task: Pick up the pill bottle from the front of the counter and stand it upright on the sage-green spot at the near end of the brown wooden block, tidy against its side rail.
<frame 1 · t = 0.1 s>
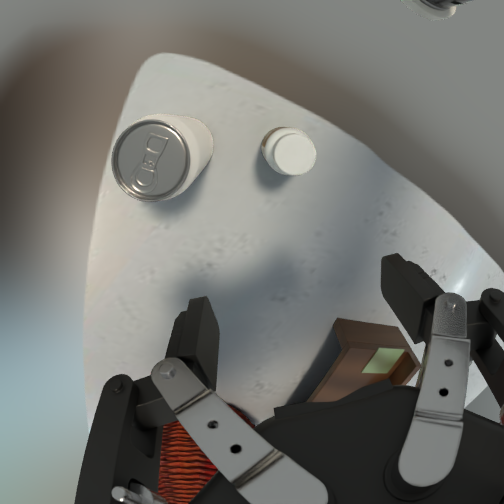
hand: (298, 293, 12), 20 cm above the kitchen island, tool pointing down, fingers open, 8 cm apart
vase: (208, 416, 49), on the kitchen island
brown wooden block: (331, 380, 45), on the kitchen island
pill bottle: (281, 146, 28), on the kitchen island
can: (184, 146, 28), on the kitchen island
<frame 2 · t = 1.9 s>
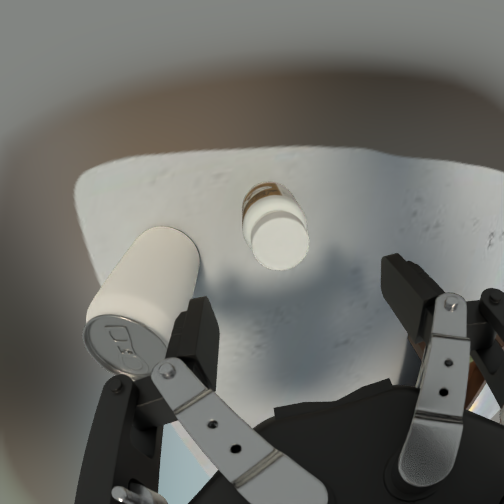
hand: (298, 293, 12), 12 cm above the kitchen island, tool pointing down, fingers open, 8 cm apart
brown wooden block: (425, 376, 37), on the kitchen island
pill bottle: (268, 205, 23), on the kitchen island
can: (166, 256, 25), on the kitchen island
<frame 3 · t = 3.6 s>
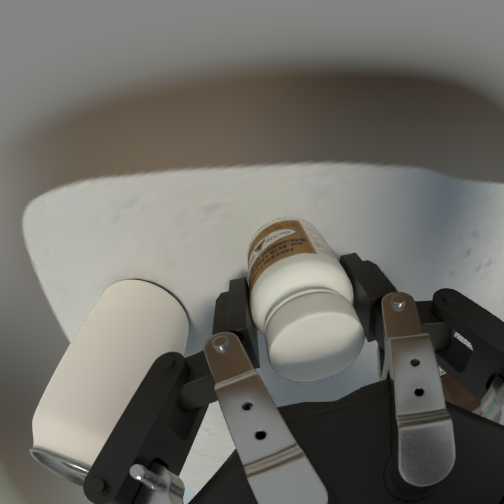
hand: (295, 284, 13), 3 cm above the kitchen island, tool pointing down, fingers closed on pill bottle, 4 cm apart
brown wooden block: (446, 413, 29), on the kitchen island
pill bottle: (285, 250, 16), on the kitchen island, touching gripper
can: (144, 315, 18), on the kitchen island
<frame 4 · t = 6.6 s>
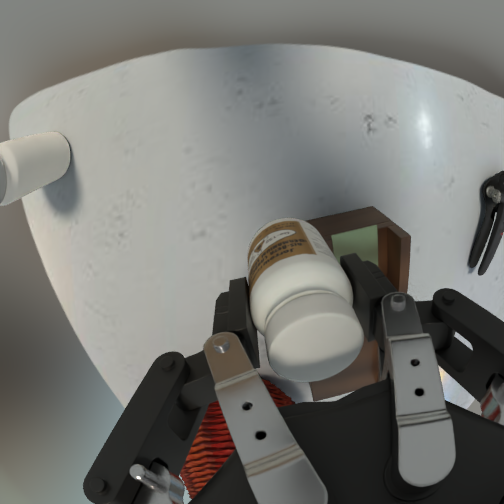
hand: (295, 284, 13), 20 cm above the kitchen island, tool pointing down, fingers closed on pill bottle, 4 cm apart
can opener: (482, 218, 33), on the kitchen island
vase: (239, 395, 48), on the kitchen island
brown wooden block: (337, 306, 39), on the kitchen island
pill bottle: (285, 251, 16), point 16 cm above the kitchen island, touching gripper
can: (54, 155, 27), on the kitchen island
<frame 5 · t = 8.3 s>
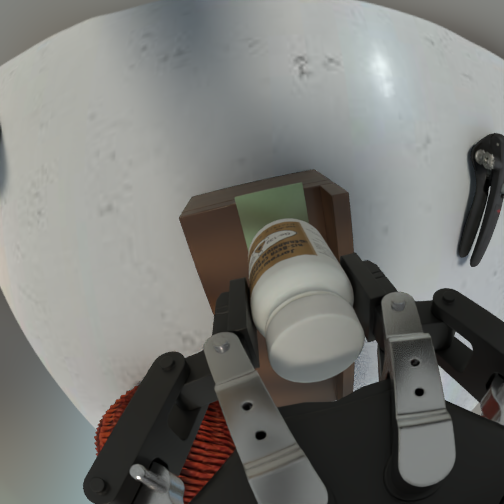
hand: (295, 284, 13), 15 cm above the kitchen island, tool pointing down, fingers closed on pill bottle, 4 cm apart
can opener: (473, 194, 27), on the kitchen island
vase: (181, 400, 41), on the kitchen island
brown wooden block: (279, 301, 32), on the kitchen island
pill bottle: (285, 251, 16), point 12 cm above the kitchen island, touching gripper
when the fingers open (10 cm above the kitchen island, at t = 10.0 s): pill bottle stays where it is, resting on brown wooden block.
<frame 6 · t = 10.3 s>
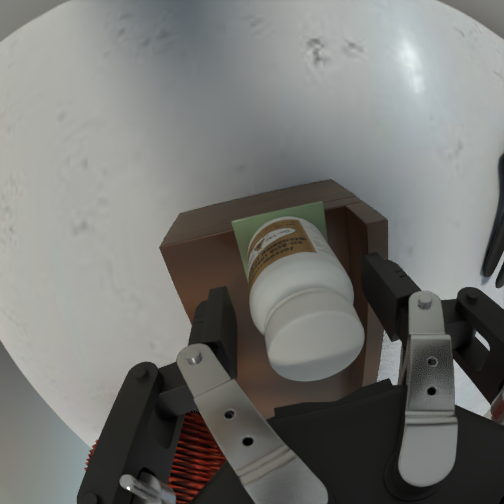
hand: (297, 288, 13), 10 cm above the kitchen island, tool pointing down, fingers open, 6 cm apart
can opener: (501, 207, 22), on the kitchen island
vase: (177, 427, 36), on the kitchen island
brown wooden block: (285, 332, 27), on the kitchen island
pill bottle: (285, 249, 16), point 6 cm above the kitchen island, touching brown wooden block
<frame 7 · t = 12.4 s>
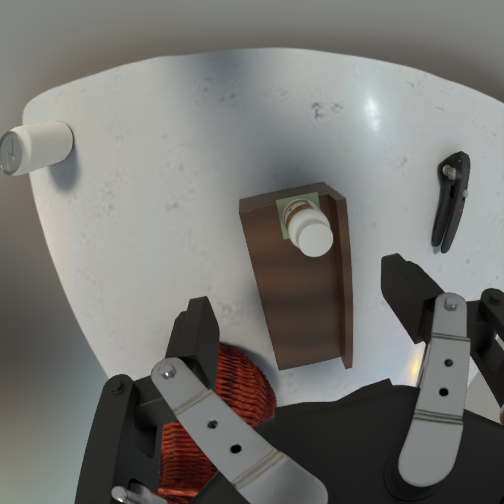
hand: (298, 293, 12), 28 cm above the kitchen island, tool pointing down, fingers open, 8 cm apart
can opener: (443, 198, 39), on the kitchen island
vase: (213, 366, 52), on the kitchen island
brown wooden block: (297, 276, 44), on the kitchen island
pill bottle: (300, 215, 33), point 6 cm above the kitchen island, touching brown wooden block
can: (59, 141, 33), on the kitchen island
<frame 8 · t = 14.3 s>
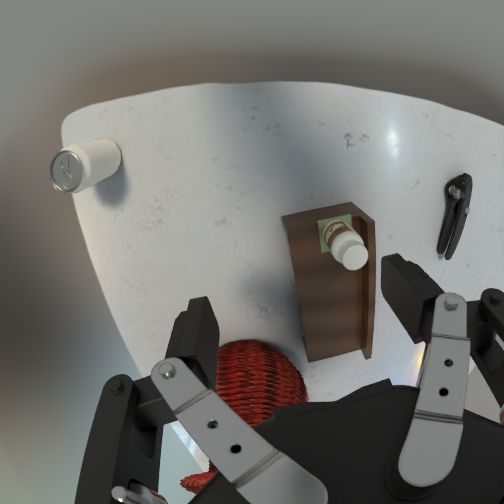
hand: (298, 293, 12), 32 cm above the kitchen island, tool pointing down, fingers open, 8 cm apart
can opener: (448, 212, 45), on the kitchen island
vase: (246, 361, 59), on the kitchen island
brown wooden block: (326, 281, 50), on the kitchen island
pill bottle: (336, 232, 39), point 6 cm above the kitchen island, touching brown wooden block
can: (105, 157, 39), on the kitchen island
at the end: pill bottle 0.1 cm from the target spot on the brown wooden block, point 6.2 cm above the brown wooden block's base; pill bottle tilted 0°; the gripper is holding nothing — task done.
